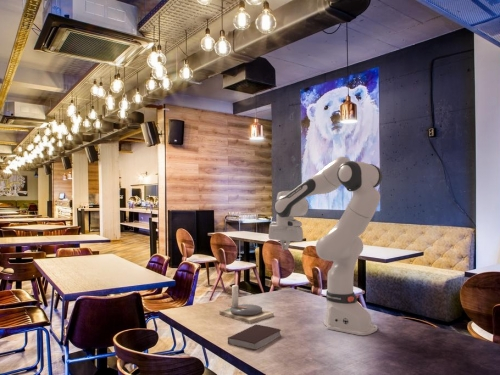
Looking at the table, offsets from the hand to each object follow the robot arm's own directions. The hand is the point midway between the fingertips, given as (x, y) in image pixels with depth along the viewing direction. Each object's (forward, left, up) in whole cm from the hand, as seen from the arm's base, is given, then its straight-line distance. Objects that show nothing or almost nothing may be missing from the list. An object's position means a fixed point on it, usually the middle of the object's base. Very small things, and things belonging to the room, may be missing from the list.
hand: (285, 249), depth 197 cm
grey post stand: (+5, +24, -27) cm, 37 cm away
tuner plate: (+4, +24, -29) cm, 38 cm away
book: (-21, +44, -30) cm, 57 cm away
